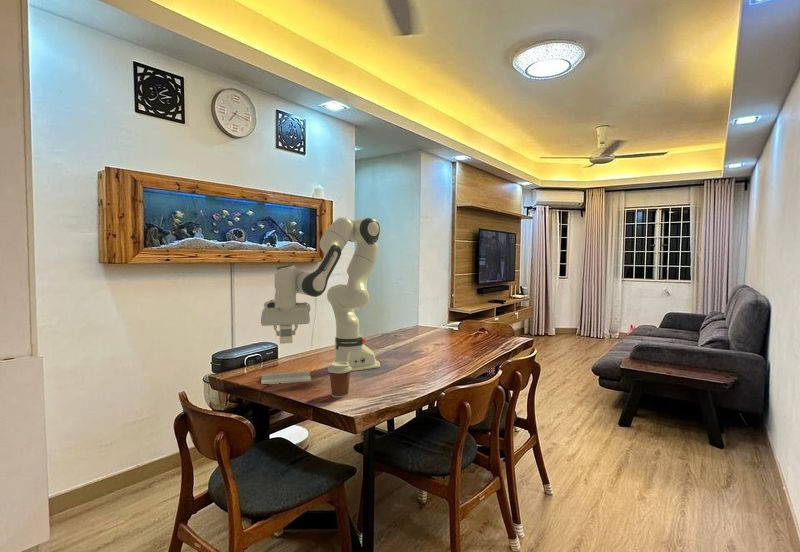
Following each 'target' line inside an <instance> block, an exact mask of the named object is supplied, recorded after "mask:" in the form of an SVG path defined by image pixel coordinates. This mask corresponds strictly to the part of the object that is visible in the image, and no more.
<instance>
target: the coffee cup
mask: <svg viewBox="0 0 800 552" xmlns="http://www.w3.org/2000/svg"><path fill="white" fill-rule="evenodd" d="M327 371H328V372H329V380H330V391H331V397H333V398H336V399H337V398H340V399H342V398H346V397H348V396H349V393H350V380H351V379H350V376H351V372H353V371H352V367H350V365H349V363H348V362H334V361H333V362H332V363H330V366H329V367H327Z"/></svg>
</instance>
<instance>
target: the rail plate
mask: <svg viewBox="0 0 800 552" xmlns="http://www.w3.org/2000/svg"><path fill="white" fill-rule="evenodd" d="M260 380H261V382H260V383H261V386H263V385H262V384H269V385H278V384H279V383H281V384H291V383H292V384H293V383H302V382H303V383H304V382H312V378H311V371H310V370H302V371H301V370H299V371H286V372H274V373H273V372H271V373H261V379H260Z"/></svg>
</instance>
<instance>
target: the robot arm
mask: <svg viewBox="0 0 800 552" xmlns="http://www.w3.org/2000/svg"><path fill="white" fill-rule="evenodd" d="M380 234H381V226H380V223H379V222H378V221H377V220H376V219H374V218H372V217H366V218H357V219H354V220H352V219H351V220H350V219H349V218H346V217H338V218H336V220H334V221H333V222H332V223H331V224H330V225H329V227H328V228H327V230H326V231H325V232H324V233H323V234H322V236H321V238H320V240H319V248H320V250H321V251H322V252H323V254H324V255H323V258H322V259H321V262H319V264H318V266H317V268H316V269H315V270H314V271H312V272H307V271H303V270H301V269H299V268H297V267H296V266H295V265H294V264H284V265H279V266H278V267H277V268H276V269H275V273H274V289H275V290H274V299H270V300H268V301H265V302H264V303H263V309H262V310H261V317H260V325H261V326H263V327H267V326H268V327H270V326H271V327H272V326H273V330H274V331H275V335H276V337H277V336H278V337H280V331H279V330H278V329H277V328H278V326H279V325H292V326H294V329H292V336H295V335H296V331H297V329H298V328H299V325H308V324H310V322H311V317H310V312H311V305H310V303H308V302H306V301H305V302H297V294H301V295H306V296H310V297H314V298H317V297H320V296H321V295H322V294H323V293H324V292H325V291H326V289H327V286H328V282H329V278H330V277H331V274H333V271H334V269H335V268H336V266H337V264H338V262H339V260H340V258H341V255H342V251H343V250H344V248H345V247H346V245H347V244H348V242H351V243H355V242H356V249H355V251H354V252H353V255H352V257H351V259H350V262H349V264H348V266H347V269H346V273H347V275H348V279H347V283H346V284H335V285H332V286H330V288H328V290H327V292H326V293H327V294H326V298H327V299H326V300H328V303H329V304H330V305H331V307H332V311H333V314H334V318H335V335H336V336H335V339H334V348H335V354H334V355H335V356H334V360H333V362H348V363H349V365H350V367H352V371H351V372H355V371H363V370H369V369H377V368H380V367H381V363H380V361H378V360H377V359H376V356H375V355H376V354H375V353H374V351H373V350H372V349H371V348H370V347H368V346H366V342H367V340H366V338H363V337H362V336H360V319H359V318H358V317H357V315H356V313H355V310H359V309H365V307H367V306H368V305H369V302H370V294H369V292H368V282H369V281H368V280H369V277H370V275H371V273H372V269H373V268H374V266H375V264H376V260H377V257H378V252H379V245H378V244H377V242H378V240H379V236H380Z"/></svg>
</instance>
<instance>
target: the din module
mask: <svg viewBox="0 0 800 552" xmlns="http://www.w3.org/2000/svg"><path fill="white" fill-rule="evenodd" d="M278 326H279V330H278V331H280V336H279V344H280V345H281V344H282V345H285V344H293V335H292V330H293V325H278Z"/></svg>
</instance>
